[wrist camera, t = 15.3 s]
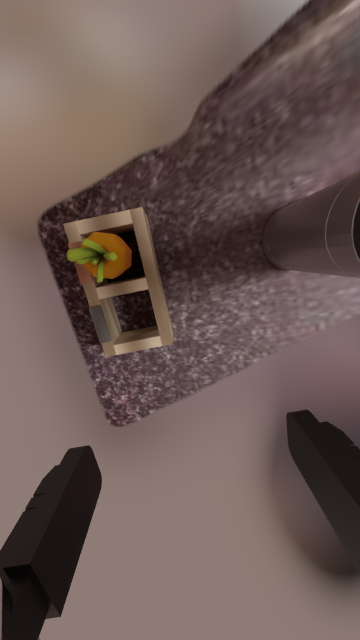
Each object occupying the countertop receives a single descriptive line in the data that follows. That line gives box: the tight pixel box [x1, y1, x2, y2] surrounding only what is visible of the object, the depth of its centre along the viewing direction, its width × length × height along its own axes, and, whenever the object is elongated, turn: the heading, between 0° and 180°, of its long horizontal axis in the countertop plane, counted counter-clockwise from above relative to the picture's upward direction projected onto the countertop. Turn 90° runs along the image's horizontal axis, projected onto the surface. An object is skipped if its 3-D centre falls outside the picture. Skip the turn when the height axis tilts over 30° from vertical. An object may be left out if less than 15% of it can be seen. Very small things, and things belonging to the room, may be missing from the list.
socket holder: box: [63, 207, 173, 357], centre depth 31 cm, size 10×18×6 cm, turn 11°
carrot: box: [67, 232, 132, 283], centre depth 26 cm, size 5×5×15 cm
